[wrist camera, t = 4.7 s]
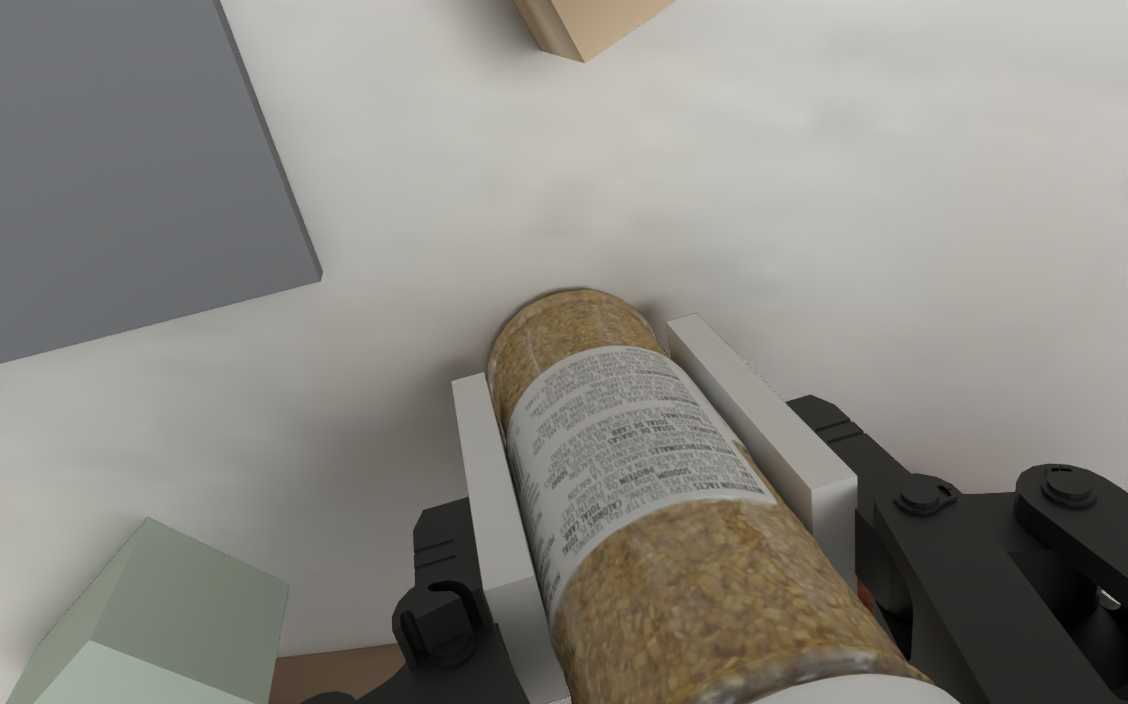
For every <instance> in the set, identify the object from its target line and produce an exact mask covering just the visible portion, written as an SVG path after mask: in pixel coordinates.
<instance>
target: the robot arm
mask: <svg viewBox="0 0 1128 704" xmlns="http://www.w3.org/2000/svg"><path fill="white" fill-rule="evenodd" d="M666 326H667V333H668V340H669V347H670V354H671V360H672V361H673V362H674V363H676V364H677V365H678V366H679V367H681V368H682V369H683V370H684V371H685V372H686V373H687V375H688V376H689V377H690V378H691V379H692V380H693V382H694V383H695V384H696V385H697V387H698V388H699V389H700V391H701V392H702V393H703V394H704V396H705V397H706V398H707V399H708V401H709V402H710V403H711V404H712V406H713V407H714V408H715V409H716V411H717V412H718V413H719V414H720V415H721V417H722V418H723V419H724V420H725V422H726V423H727V424H728V426H729V427H730V428H731V429H732V431H733V432H734V433H735V434H736V435H737V437H738V438H739V439H740V440H741V442H742V443H743V444H744V445H745V446H746V448H747V449H748V451H749V452H750V454H751V456H752V458H753V461H754V462H755V463H756V464H757V466H758V468H759V470H760V471H761V472H762V473H763V474H764V476H765V477H766V478H767V480H768V481H769V482H770V484H771V485H772V486H773V487H774V489H775V490H776V491H777V492H778V494H779V495H780V496H781V498H782V499H783V501H784V503H785V504H786V505H787V506H788V507H789V508H790V509H791V510H792V512H793V513H794V514H795V515H796V516H797V517H798V518H799V520H800V521H801V522H802V524H803V525H804V528H805V529H806V530H807V531H808V532H810V534H811V535H812V536H813V538H814V539H815V540H816V542H817V543H818V545H819V547H820V549H821V550H822V551H823V553H824V554H825V556H826V557H827V559H828V561H829V562H830V564H831V565H832V566H833V567H834V568H835V569H836V571H837V573H838V574H839V575H840V576H841V577H842V578H843V579H844V580H845V581H846V582H847V584H848V586H849V587H850V588H851V589H852V591H853V593H854V594H855V595H856V596H857V577H858V578H859V579H860V581H861V582H862V583H863V584H864V586H865V587H866V588H867V589H868V590H869V592H870V593H871V594H872V595H873V616H874V618H875V619H876V621H877V623H878V624H879V625H880V626H881V627H882V629H883V630H884V631H885V632H886V633H887V635H888V636H889V638H890V639H891V641H892V642H893V643H894V644H895V645H896V647H897V648H898V649H899V650H900V651H901V653H902V654H903V656H904V658H905V659H906V661H907V662H908V664H909V665H911V666H913V667H915V668H916V669H917V670H919V671H920V672H921V673H923V674H924V675H926V676H927V677H929V678H930V679H931V680H932V681H933V682H934V684H935V686H936V687H938V688H940V689H942V690H944V691H945V692H947V693H948V694H949V695H951V696H952V697H953V698H954V699H956V700H957V701H958V702H959V703H961V704H1128V493H1127V492H1126V491H1124V490H1123V489H1121V488H1120V487H1118V486H1117V485H1115V484H1113V483H1112V482H1110V481H1109V480H1107V479H1106V478H1104V477H1102V476H1100V475H1098V474H1096V473H1093V472H1091V471H1089V470H1087V469H1083V468H1079V467H1075V466H1071V465H1064V464H1044V465H1038V466H1033V467H1031V468H1029V469H1027V470H1026V471H1024V472H1022V473H1021V474H1020V476H1019V478H1018V480H1017V482H1016V490H1015V492H1005V493H987V494H962V493H961V492H960V491H959V490H958V489H957V488H955V487H954V486H953V485H952V484H950V483H948V482H946V481H944V480H942V479H939V478H937V477H933V476H928V475H924V474H911V473H910V472H908V471H907V470H906V469H905V468H904V467H903V466H902V465H901V464H900V463H898V462H897V461H896V460H895V459H894V458H893V457H892V456H891V455H890V454H888V453H887V452H886V451H885V450H884V449H883V448H882V447H881V446H880V445H879V444H877V443H876V442H875V441H874V440H873V439H872V438H871V437H870V436H869V435H867V434H866V433H865V434H864V433H863V430H862V429H861V428H860V427H859V426H857V425H856V424H855V423H854V422H851V421H850V418H849V417H847V416H846V415H845V414H844V413H843V412H842V411H841V410H840V409H839V408H838V407H836V406H835V405H834V404H832V403H830V402H827V401H825V400H822V399H820V398H818V397H815V396H813V395H808V396H804V397H801V398H798V399H794V400H791V401H787V402H784V401H783V400H782V399H781V398H780V397H779V396H778V395H777V394H776V393H775V392H774V391H773V390H772V389H771V388H770V387H769V386H768V385H767V384H766V383H765V382H764V381H763V380H762V379H761V378H760V377H759V376H758V375H757V374H756V373H755V372H754V371H753V370H752V369H751V368H750V367H749V366H748V365H747V364H746V363H745V362H744V361H743V360H742V359H741V358H740V357H739V356H738V355H737V354H736V353H735V352H734V351H733V350H732V349H731V348H730V347H729V346H728V345H727V344H726V343H725V342H724V341H723V339H722V338H721V337H720V336H719V335H718V334H717V333H716V332H715V331H714V330H713V329H712V328H711V327H710V326H709V325H708V324H707V323H706V322H705V321H704V320H703V319H702V318H701V317H700V316H699V315H698V314H697V313H696V314H692V315H689V316H685V317H681V318H678V319H674V320H670V321H667V322H666ZM451 383H452V389H453V396H454V402H455V409H456V415H457V422H458V428H459V435H460V441H461V448H462V454H463V461H464V467H465V474H466V480H467V487H468V494H469V497H466V498H463V499H460V500H456V501H453V502H449V503H446V504H443V505H439V506H436V507H432V508H429V509H426V510H423V512H422V514H421V516H420V518H419V520H418V522H417V524H416V526H415V528H414V530H413V539H414V553H415V555H414V566H415V587H413V588H411V589H410V590H409V591H408V592H407V593H406V594H405V595H404V597H403V598H402V599H401V600H400V601H399V602H398V604H397V606H396V609H395V611H394V613H393V615H392V631H393V633H394V635H395V637H396V640H397V642H398V644H399V646H400V649H401V651H402V653H403V656H404V658H405V660H406V662H405V664H404V665H403V666H402V667H401V668H400V669H399V670H398V671H397V672H396V673H395V675H394V676H392V677H391V678H389V679H388V680H387V681H385V682H384V683H383V684H381V685H380V686H378V687H377V688H375V689H373V690H372V691H370V692H369V693H367V694H365V695H364V696H362V697H361V698H359V699H357V700H355V699H354V698H353V696H352V695H349V694H346V693H343V692H339V691H333V692H326V693H320V694H318V695H315V696H313V697H311V698H309V699H307V700H305V701H302V702H301V703H300V704H546V703H549V702H553V701H556V700H559V699H562V698H565V697H568V696H569V693H568V689H567V685H566V681H565V677H564V673H563V671H562V669H561V667H560V665H559V663H558V661H557V658H556V656H555V653H554V650H553V647H552V643H551V638H550V634H549V626H548V621H547V617H546V613H545V609H544V605H543V601H542V597H541V593H540V589H539V585H538V581H537V577H536V573H535V569H534V565H533V561H532V557H531V553H530V549H529V545H528V541H527V537H526V532H525V529H524V525H523V521H522V517H521V513H520V509H519V505H518V501H517V497H516V493H515V489H514V485H513V481H512V477H511V473H510V468H509V465H508V460H507V456H506V448H505V444H504V441H503V437H502V434H501V430H500V427H499V423H498V420H497V416H496V413H495V409H494V406H493V402H492V399H491V395H490V392H489V388H488V385H487V381H486V378H485V374H484V372H482V373H479V374H475V375H471V376H468V377H464V378H460V379H457V380H453V381H451ZM1102 589H1103V590H1104V591H1105V592H1106V593H1108V594H1109V595H1110V596H1111V597H1113V598H1114V599H1115V600H1116V601H1118V602H1119V603H1120V604H1117V603H1116V602H1114V601H1112V600H1111V599H1109V598H1108V597H1107V596H1106V595H1104V594H1103V593H1102Z"/></svg>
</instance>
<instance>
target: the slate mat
mask: <svg viewBox="0 0 1128 704" xmlns="http://www.w3.org/2000/svg"><path fill="white" fill-rule="evenodd" d="M322 273H323V271H322V269H321V266H320V263H319V261H318V258H317V256H316V253H315V250H314V248H313V245H312V242H311V240H310V237H309V234H308V232H307V229H306V227H305V224H304V221H303V219H302V216H301V213H300V211H299V208H298V205H297V203H296V200H295V198H294V195H293V192H292V190H291V187H290V184H289V182H288V179H287V176H286V174H285V171H284V169H283V166H282V163H281V161H280V158H279V155H278V153H277V150H276V147H275V145H274V142H273V140H272V137H271V134H270V132H269V129H268V126H267V124H266V121H265V118H264V116H263V113H262V111H261V108H260V105H259V103H258V100H257V97H256V95H255V92H254V89H253V87H252V84H251V82H250V79H249V76H248V74H247V71H246V68H245V66H244V63H243V60H242V58H241V55H240V53H239V50H238V47H237V45H236V42H235V39H234V37H233V34H232V31H231V29H230V26H229V24H228V21H227V18H226V16H225V13H224V10H223V8H222V5H221V2H220V0H0V364H1V363H4V362H8V361H12V360H16V359H20V358H24V357H28V356H32V355H36V354H39V353H43V352H47V351H51V350H55V349H59V348H63V347H67V346H70V345H74V344H78V343H82V342H86V341H90V340H94V339H98V338H102V337H105V336H109V335H113V334H117V333H121V332H125V331H129V330H133V329H137V328H140V327H144V326H148V325H152V324H156V323H160V322H164V321H168V320H172V319H175V318H179V317H183V316H187V315H191V314H195V313H199V312H203V311H207V310H210V309H214V308H218V307H222V306H226V305H230V304H234V303H238V302H242V301H245V300H249V299H253V298H257V297H261V296H265V295H269V294H273V293H277V292H280V291H284V290H288V289H292V288H296V287H300V286H304V285H308V284H312V283H315V282H319V281H321V277H322Z"/></svg>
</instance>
